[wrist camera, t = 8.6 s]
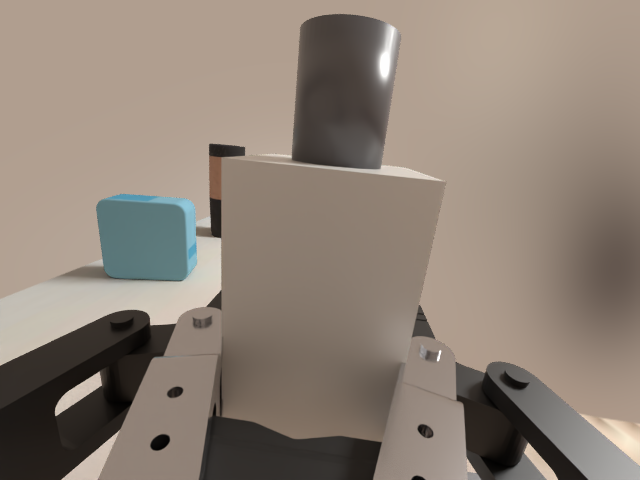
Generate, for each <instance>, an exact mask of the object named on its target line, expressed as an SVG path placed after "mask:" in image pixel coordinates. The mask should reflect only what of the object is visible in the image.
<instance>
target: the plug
mask: <svg viewBox="0 0 640 480" xmlns="http://www.w3.org/2000/svg"><path fill="white" fill-rule="evenodd" d="M400 41H401V34H400V33H399V31H398V30H397V29H396V28H395V27H393V26H391V25H390V24H388V23H385V22H383V21H380V20H377V19H373V18H369V17H365V16H358V15H347V14H333V15H323V16H318V17H314V18H311V19H309V20H307V21H305V22H304V23H303V24H302V25H301V27H300V41H299V56H298V71H297V86H296V101H295V115H294V130H293V131H294V132H293V145H292V156H290V155H281V154H265V155H250V156H236V157H222V158H221V269H222V337H223V359H222V399H223V417H226V418H232V419H239V420H245V421H251V422H255V423H258V424H260V425H262V426H265V427H267V428H269V429H272V430H274V431H276V432H278V433H281V434H283V435H285V436H288V437H290V438H293V439H307V438H319V437H330V436H346V437H352V438H358V439H365V440H371V441H377V442H382V440H383V436H384V432H385V428H386V424H387V420H388V415H389V411H390V407H391V403H392V399H393V395H394V390H395V386H396V382H397V379H398V376H399V371H400V367H401V363H402V362H403V363H406V361H407V356H408V352H409V347H410V343H411V338H412V334H413V329H414V325H415V320H416V316H417V311H418V307H419V302H420V297H421V293H422V289H423V284H424V279H425V275H426V270H427V266H428V261H429V257H430V253H431V248H432V243H433V239H434V234H435V230H436V225H437V221H438V216H439V212H440V207H441V203H442V198H443V194H444V189H445V185H446V181H443V180H440V179H437V178H434V177H431V176H428V175H425V174H422V173H419V172H416V171H413V170H411V169H408V168H403V167H395V166H385V165H381V163H382V157H383V151H384V144H385V138H386V131H387V125H388V118H389V112H390V105H391V99H392V92H393V86H394V80H395V73H396V67H397V60H398V54H399V47H400Z"/></svg>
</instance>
